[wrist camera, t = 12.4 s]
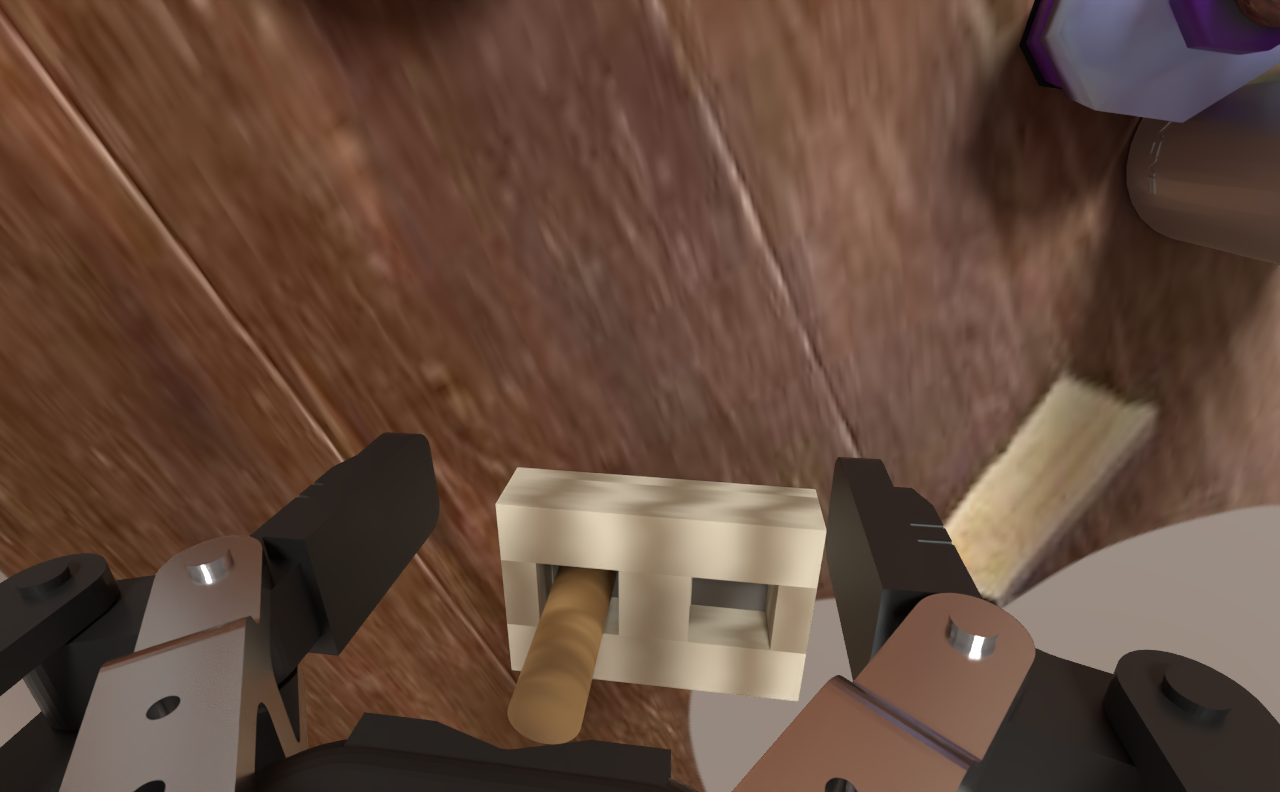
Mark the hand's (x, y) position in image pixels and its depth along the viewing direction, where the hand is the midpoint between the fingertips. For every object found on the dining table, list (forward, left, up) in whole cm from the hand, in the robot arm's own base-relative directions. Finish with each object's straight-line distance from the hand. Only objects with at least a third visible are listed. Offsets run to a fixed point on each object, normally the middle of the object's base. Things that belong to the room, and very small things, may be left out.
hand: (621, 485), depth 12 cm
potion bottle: (-18, -11, -25) cm, 33 cm away
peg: (+6, +22, -24) cm, 33 cm away
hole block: (+1, +22, -25) cm, 33 cm away
